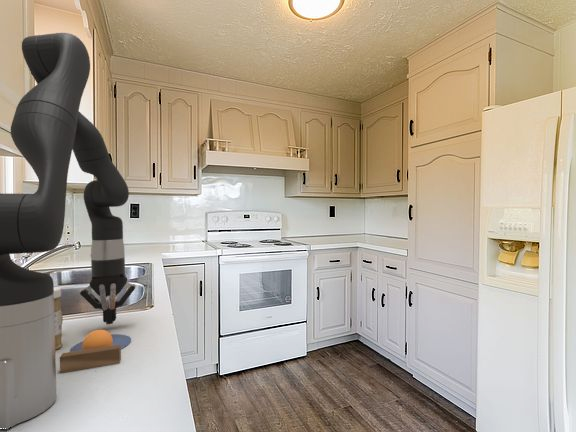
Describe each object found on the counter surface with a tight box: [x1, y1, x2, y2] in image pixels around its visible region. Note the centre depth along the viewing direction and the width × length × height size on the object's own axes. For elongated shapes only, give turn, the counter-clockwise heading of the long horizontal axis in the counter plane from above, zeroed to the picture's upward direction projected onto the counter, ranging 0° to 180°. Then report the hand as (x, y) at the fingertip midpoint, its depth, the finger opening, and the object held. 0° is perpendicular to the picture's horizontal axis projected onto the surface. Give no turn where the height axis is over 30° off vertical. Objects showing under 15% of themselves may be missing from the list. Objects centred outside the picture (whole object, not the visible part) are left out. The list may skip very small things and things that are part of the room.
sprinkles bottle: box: [53, 286, 63, 351], centre depth 70 cm, size 5×5×14 cm
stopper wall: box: [59, 344, 122, 374], centre depth 62 cm, size 2×10×3 cm, turn 111°
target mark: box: [69, 333, 132, 352], centre depth 71 cm, size 12×12×1 cm
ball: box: [82, 329, 113, 350], centre depth 66 cm, size 6×6×6 cm
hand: (109, 323), depth 81 cm, fingers closed
